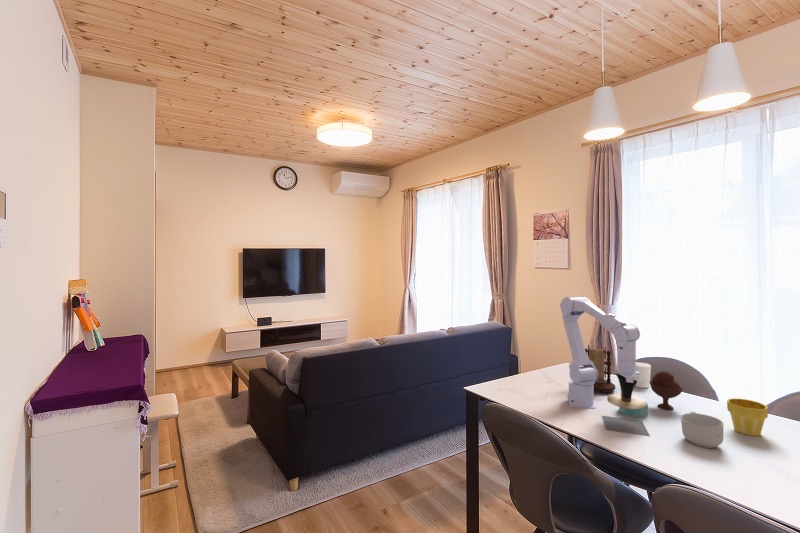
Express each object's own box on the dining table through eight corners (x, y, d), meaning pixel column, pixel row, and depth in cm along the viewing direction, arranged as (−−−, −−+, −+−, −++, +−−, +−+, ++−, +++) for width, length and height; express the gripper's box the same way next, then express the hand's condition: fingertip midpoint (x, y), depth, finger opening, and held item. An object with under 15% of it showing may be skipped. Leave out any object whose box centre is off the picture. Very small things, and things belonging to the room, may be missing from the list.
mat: (606, 431, 132) (606, 429, 132) (601, 416, 144) (601, 415, 144) (650, 437, 127) (650, 436, 127) (641, 421, 140) (641, 420, 139)
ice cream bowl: (688, 414, 146) (688, 375, 146) (655, 412, 148) (656, 373, 148) (674, 403, 156) (674, 367, 156) (644, 402, 159) (644, 366, 158)
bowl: (621, 416, 144) (621, 404, 144) (617, 407, 153) (617, 396, 153) (649, 420, 141) (650, 407, 141) (644, 410, 150) (644, 399, 149)
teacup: (726, 455, 116) (726, 429, 115) (682, 446, 121) (682, 421, 121) (718, 437, 127) (718, 413, 127) (678, 429, 133) (678, 406, 133)
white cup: (654, 388, 175) (654, 366, 175) (637, 388, 175) (637, 366, 175) (643, 382, 183) (644, 362, 183) (627, 382, 183) (627, 362, 183)
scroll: (577, 391, 172) (577, 347, 172) (580, 382, 185) (580, 340, 185) (615, 396, 165) (615, 350, 164) (615, 386, 178) (615, 344, 177)
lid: (609, 406, 135) (609, 391, 135) (605, 395, 146) (605, 381, 146) (649, 411, 130) (649, 395, 130) (642, 399, 141) (642, 384, 141)
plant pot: (723, 430, 132) (723, 402, 132) (731, 422, 138) (731, 395, 138) (764, 441, 124) (764, 411, 124) (770, 432, 130) (771, 404, 130)
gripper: (643, 365, 129) (643, 405, 130) (635, 355, 143) (635, 391, 143) (619, 363, 132) (619, 402, 132) (614, 353, 146) (613, 389, 146)
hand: (626, 396), depth 138 cm, fingers closed on lid, 3 cm apart
